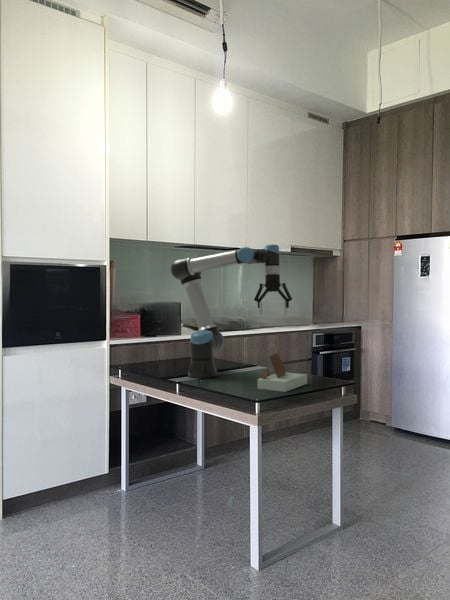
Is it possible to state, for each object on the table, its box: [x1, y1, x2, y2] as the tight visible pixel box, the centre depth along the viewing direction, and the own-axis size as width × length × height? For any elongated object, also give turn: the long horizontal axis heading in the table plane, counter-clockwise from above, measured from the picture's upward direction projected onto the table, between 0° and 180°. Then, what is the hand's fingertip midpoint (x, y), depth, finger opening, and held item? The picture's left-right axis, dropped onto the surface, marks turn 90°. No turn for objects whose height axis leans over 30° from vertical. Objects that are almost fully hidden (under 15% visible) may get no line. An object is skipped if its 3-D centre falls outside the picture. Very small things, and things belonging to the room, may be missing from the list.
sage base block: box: [256, 372, 308, 393], centre depth 230 cm, size 14×22×5 cm, turn 145°
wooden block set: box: [261, 353, 287, 379], centre depth 232 cm, size 18×9×10 cm, turn 150°
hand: (273, 314), depth 263 cm, fingers open, 13 cm apart
